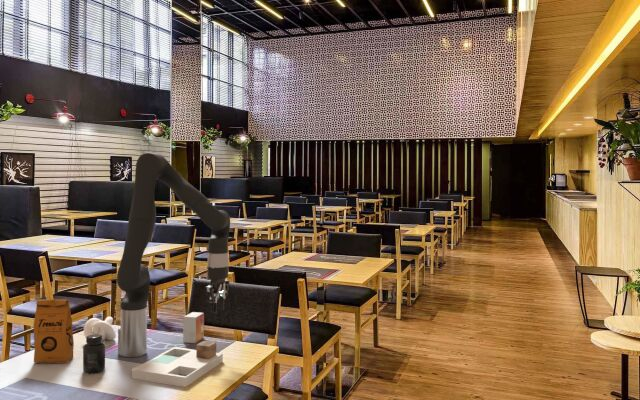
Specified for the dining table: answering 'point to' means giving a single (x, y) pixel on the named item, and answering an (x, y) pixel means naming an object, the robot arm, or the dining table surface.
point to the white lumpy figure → (100, 328)
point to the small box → (193, 327)
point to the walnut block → (206, 350)
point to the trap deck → (176, 367)
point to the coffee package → (53, 332)
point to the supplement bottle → (94, 354)
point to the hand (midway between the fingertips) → (217, 310)
